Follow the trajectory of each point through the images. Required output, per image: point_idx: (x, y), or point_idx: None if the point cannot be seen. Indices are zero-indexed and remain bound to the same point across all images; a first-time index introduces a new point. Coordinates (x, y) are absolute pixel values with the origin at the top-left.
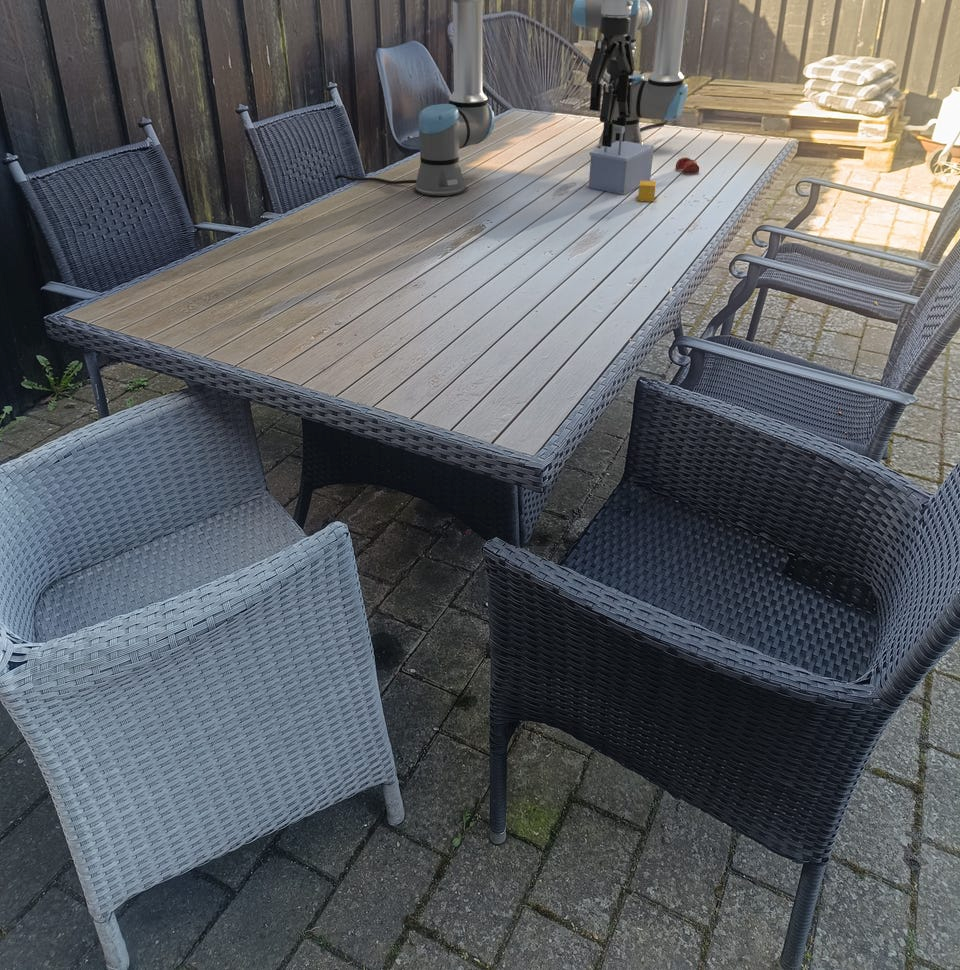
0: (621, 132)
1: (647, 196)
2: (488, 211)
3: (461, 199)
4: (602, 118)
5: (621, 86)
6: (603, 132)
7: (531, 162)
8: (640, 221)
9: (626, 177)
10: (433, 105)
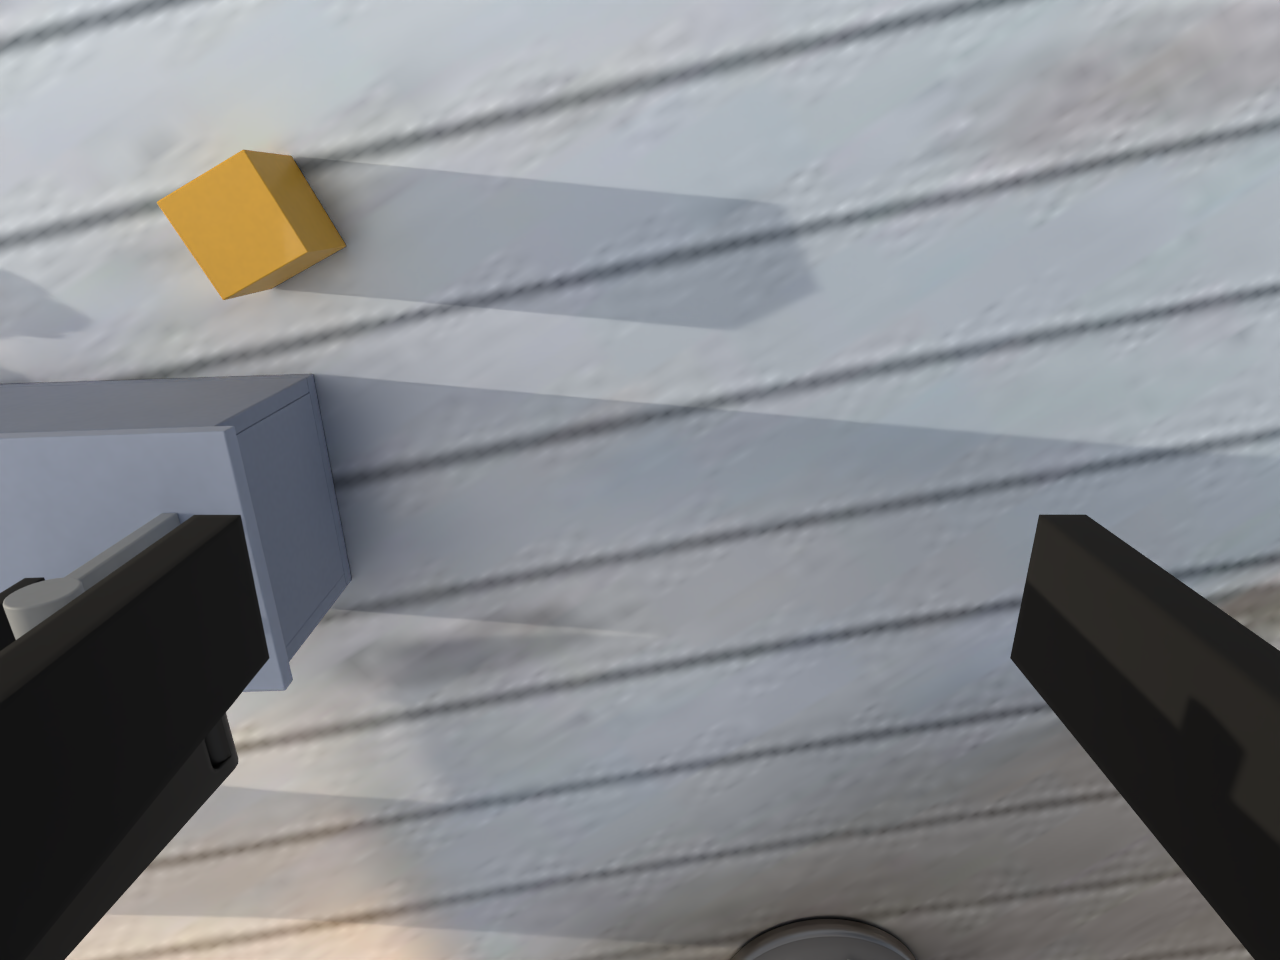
0: (80, 585)
1: (302, 193)
2: (965, 718)
3: (882, 875)
4: (220, 752)
5: (105, 762)
6: None
7: (240, 954)
8: (660, 16)
9: (252, 396)
10: None
